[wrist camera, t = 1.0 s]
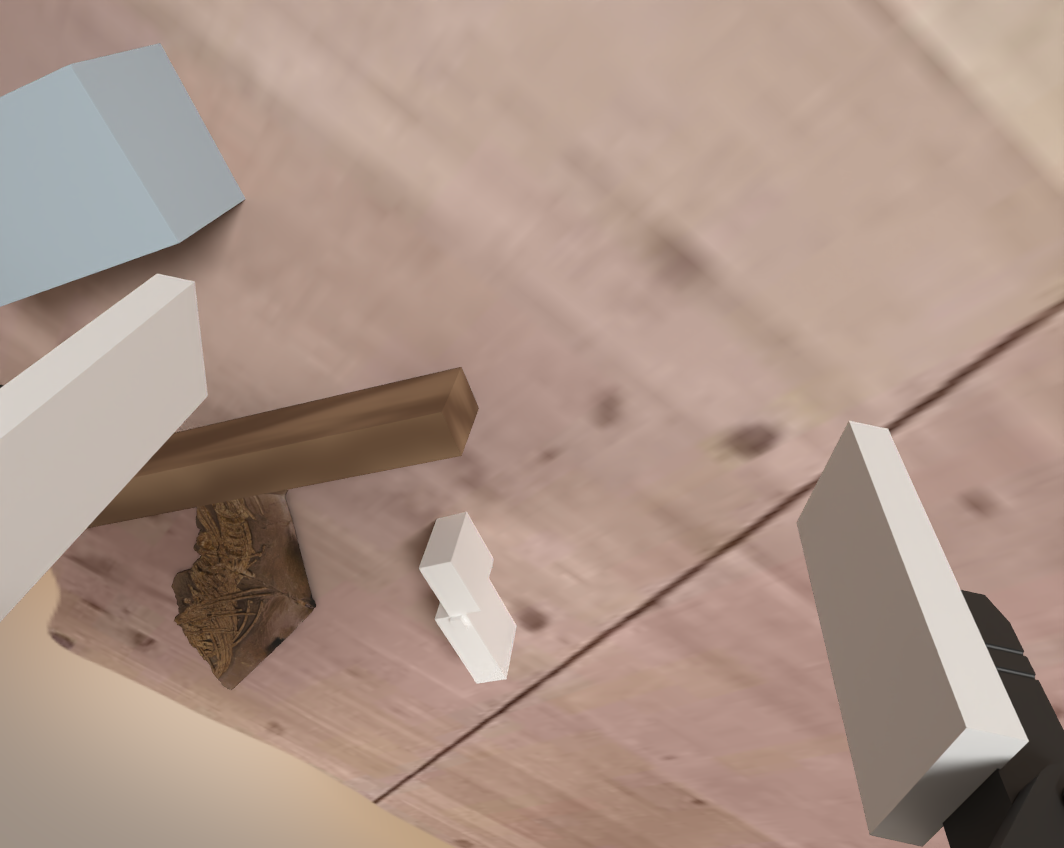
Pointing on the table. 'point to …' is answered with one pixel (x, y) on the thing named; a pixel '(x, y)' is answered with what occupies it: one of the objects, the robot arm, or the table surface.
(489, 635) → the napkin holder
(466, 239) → the table surface
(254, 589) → the wooden fragment
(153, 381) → the robot arm
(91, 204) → the block
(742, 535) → the table surface
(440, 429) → the stop board
